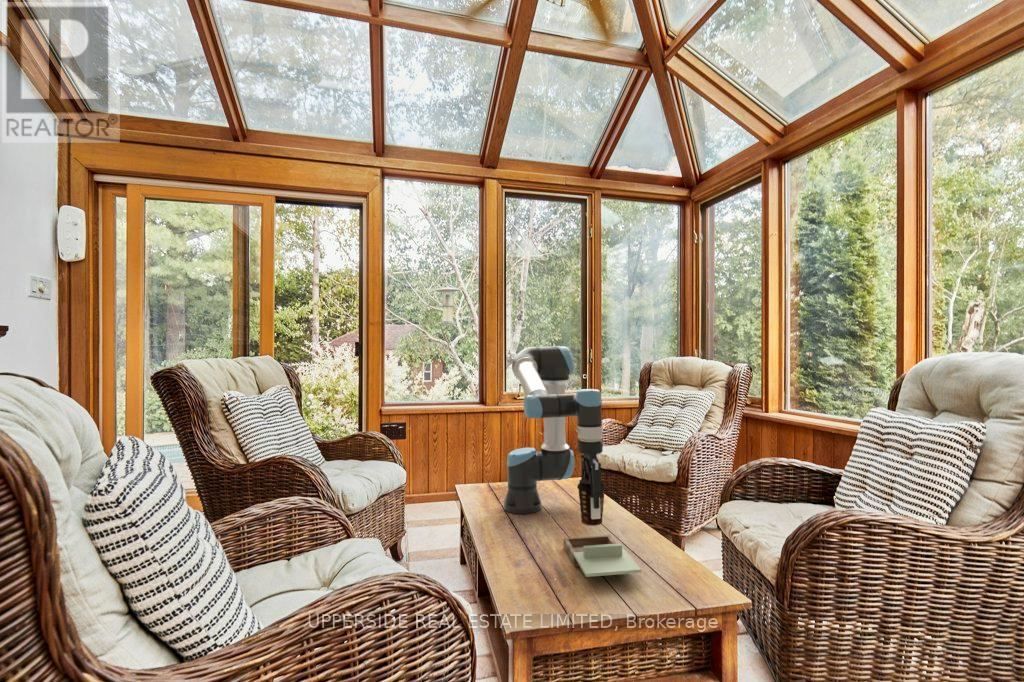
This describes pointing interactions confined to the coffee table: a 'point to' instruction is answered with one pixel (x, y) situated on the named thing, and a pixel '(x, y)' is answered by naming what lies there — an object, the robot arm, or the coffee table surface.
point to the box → (578, 543)
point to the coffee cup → (588, 502)
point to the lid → (605, 560)
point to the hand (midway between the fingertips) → (592, 513)
